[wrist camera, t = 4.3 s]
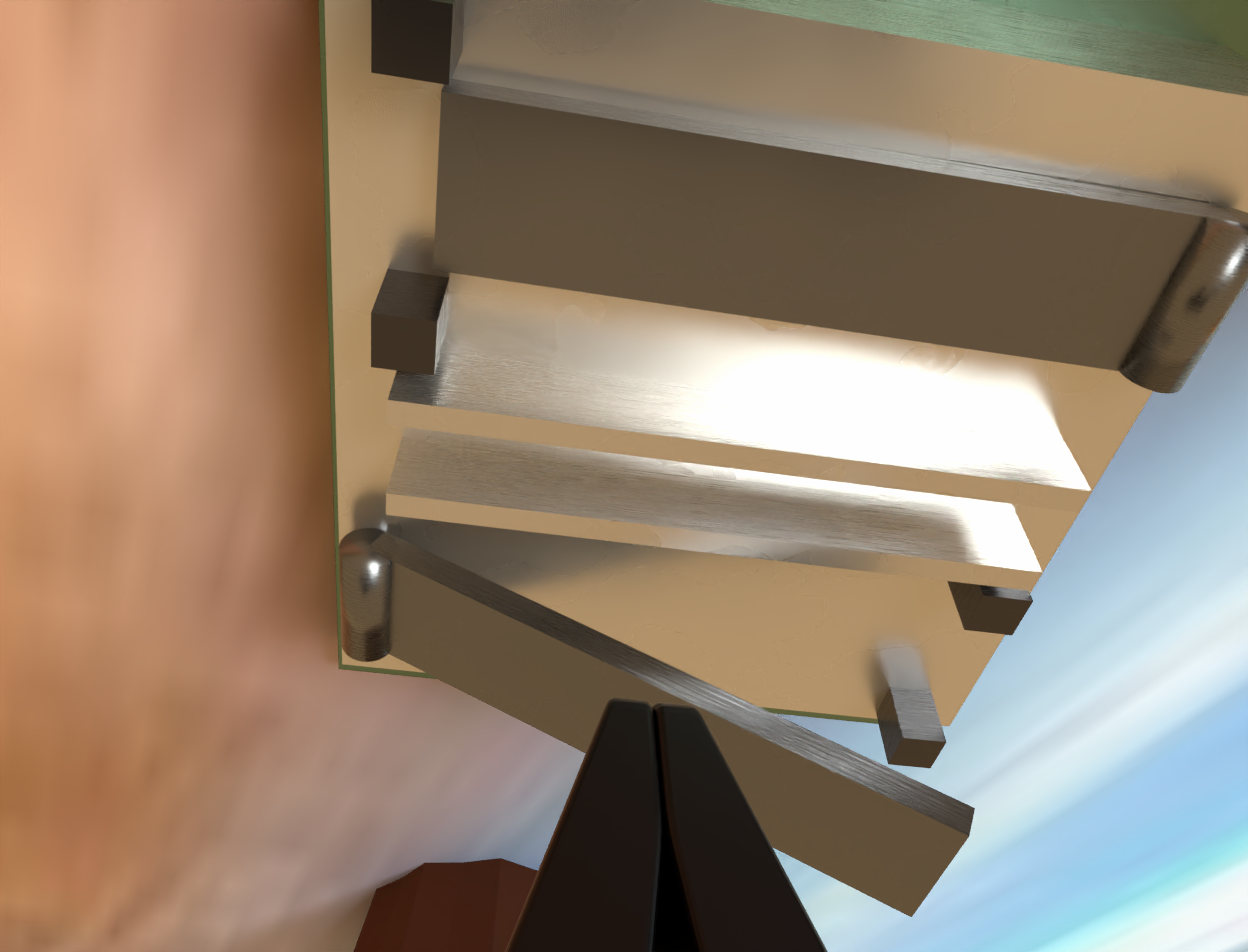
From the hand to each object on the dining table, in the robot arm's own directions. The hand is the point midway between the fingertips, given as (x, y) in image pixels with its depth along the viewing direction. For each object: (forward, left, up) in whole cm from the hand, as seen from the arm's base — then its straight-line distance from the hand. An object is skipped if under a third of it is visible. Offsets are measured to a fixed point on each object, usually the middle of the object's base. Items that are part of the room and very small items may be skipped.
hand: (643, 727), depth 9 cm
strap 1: (-3, -1, -9) cm, 10 cm away
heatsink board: (-2, +3, -13) cm, 14 cm away
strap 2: (-1, +8, -6) cm, 10 cm away
